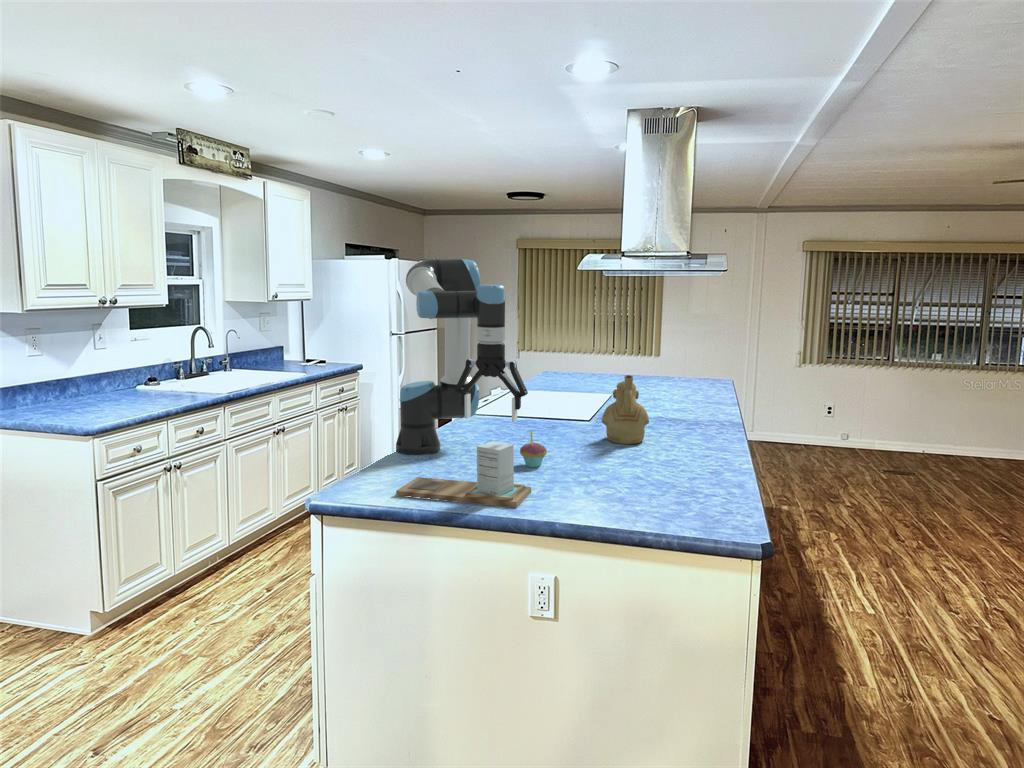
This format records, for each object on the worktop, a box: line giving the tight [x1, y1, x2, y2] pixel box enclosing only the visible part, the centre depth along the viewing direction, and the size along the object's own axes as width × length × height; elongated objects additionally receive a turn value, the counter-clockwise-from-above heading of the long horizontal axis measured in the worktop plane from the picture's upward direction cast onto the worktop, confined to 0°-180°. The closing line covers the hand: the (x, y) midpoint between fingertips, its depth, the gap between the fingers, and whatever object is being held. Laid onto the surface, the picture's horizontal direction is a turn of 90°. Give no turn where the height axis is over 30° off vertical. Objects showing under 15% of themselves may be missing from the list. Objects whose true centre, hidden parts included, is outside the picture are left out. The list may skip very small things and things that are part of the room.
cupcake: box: [519, 429, 548, 468], centre depth 223 cm, size 9×8×12 cm
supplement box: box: [476, 441, 515, 496], centre depth 190 cm, size 7×7×13 cm
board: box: [395, 476, 532, 509], centre depth 193 cm, size 34×14×2 cm, turn 73°
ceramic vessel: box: [601, 374, 650, 445], centre depth 256 cm, size 17×20×25 cm
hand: (490, 419), depth 195 cm, fingers open, 13 cm apart
